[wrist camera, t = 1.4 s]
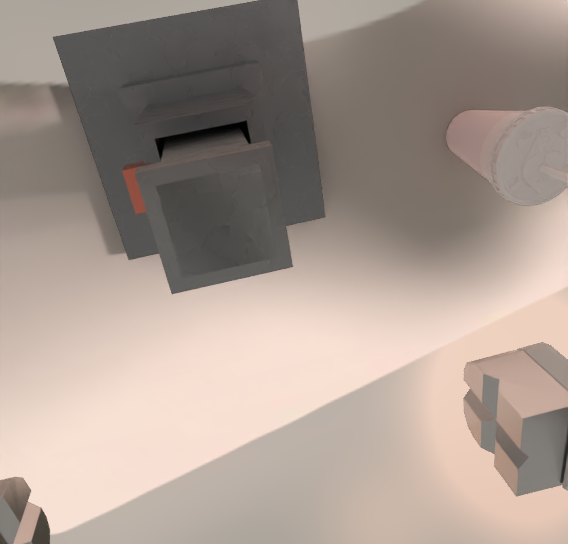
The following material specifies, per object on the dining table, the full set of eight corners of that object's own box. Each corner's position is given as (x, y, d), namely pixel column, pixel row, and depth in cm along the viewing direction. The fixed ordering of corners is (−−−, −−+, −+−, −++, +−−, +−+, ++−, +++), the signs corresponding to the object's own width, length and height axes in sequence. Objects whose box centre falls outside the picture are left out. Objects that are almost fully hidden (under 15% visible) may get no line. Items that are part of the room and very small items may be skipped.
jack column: (233, 94, 34) (272, 145, 18) (247, 166, 37) (292, 267, 21) (159, 108, 34) (134, 173, 18) (179, 180, 36) (172, 294, 20)
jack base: (292, -5, 34) (340, -23, 23) (320, 211, 41) (368, 274, 30) (58, 37, 33) (-7, 38, 22) (130, 252, 40) (109, 333, 29)
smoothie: (431, 179, 42) (535, 240, 29) (428, 101, 39) (541, 133, 26) (502, 162, 42) (633, 215, 30) (504, 84, 39) (650, 107, 27)
